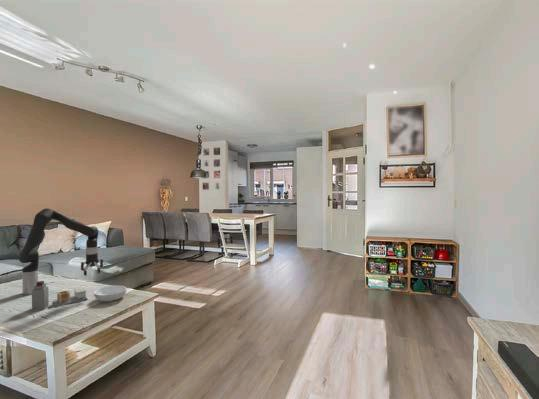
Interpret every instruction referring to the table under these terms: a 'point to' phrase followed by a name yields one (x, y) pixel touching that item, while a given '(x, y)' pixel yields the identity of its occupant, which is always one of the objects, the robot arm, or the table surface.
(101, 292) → the serving bowl
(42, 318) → the table surface
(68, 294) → the sleeve
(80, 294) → the block
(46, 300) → the perfume bottle
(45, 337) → the table surface
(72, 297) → the board
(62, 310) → the table surface
